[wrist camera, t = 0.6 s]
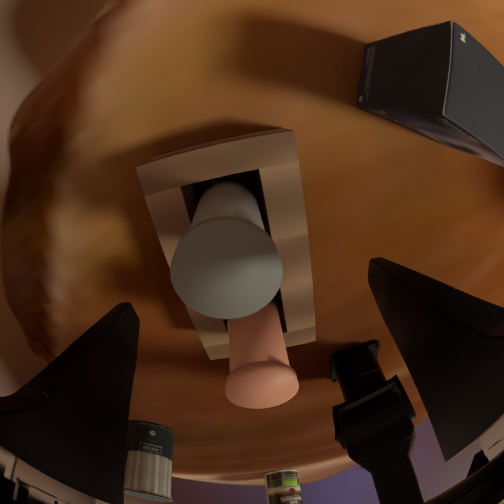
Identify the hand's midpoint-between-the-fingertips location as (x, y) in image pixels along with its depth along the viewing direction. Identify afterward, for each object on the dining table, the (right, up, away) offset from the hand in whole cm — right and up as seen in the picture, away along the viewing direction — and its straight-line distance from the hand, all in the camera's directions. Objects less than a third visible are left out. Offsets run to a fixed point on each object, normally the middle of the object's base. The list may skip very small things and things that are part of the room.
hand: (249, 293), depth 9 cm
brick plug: (0, -4, +13) cm, 14 cm away
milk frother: (-21, -35, +33) cm, 53 cm away
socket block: (-1, +2, +14) cm, 14 cm away
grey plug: (-2, +4, +9) cm, 10 cm away
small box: (+14, +15, +8) cm, 22 cm away
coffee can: (+9, -65, +51) cm, 83 cm away
